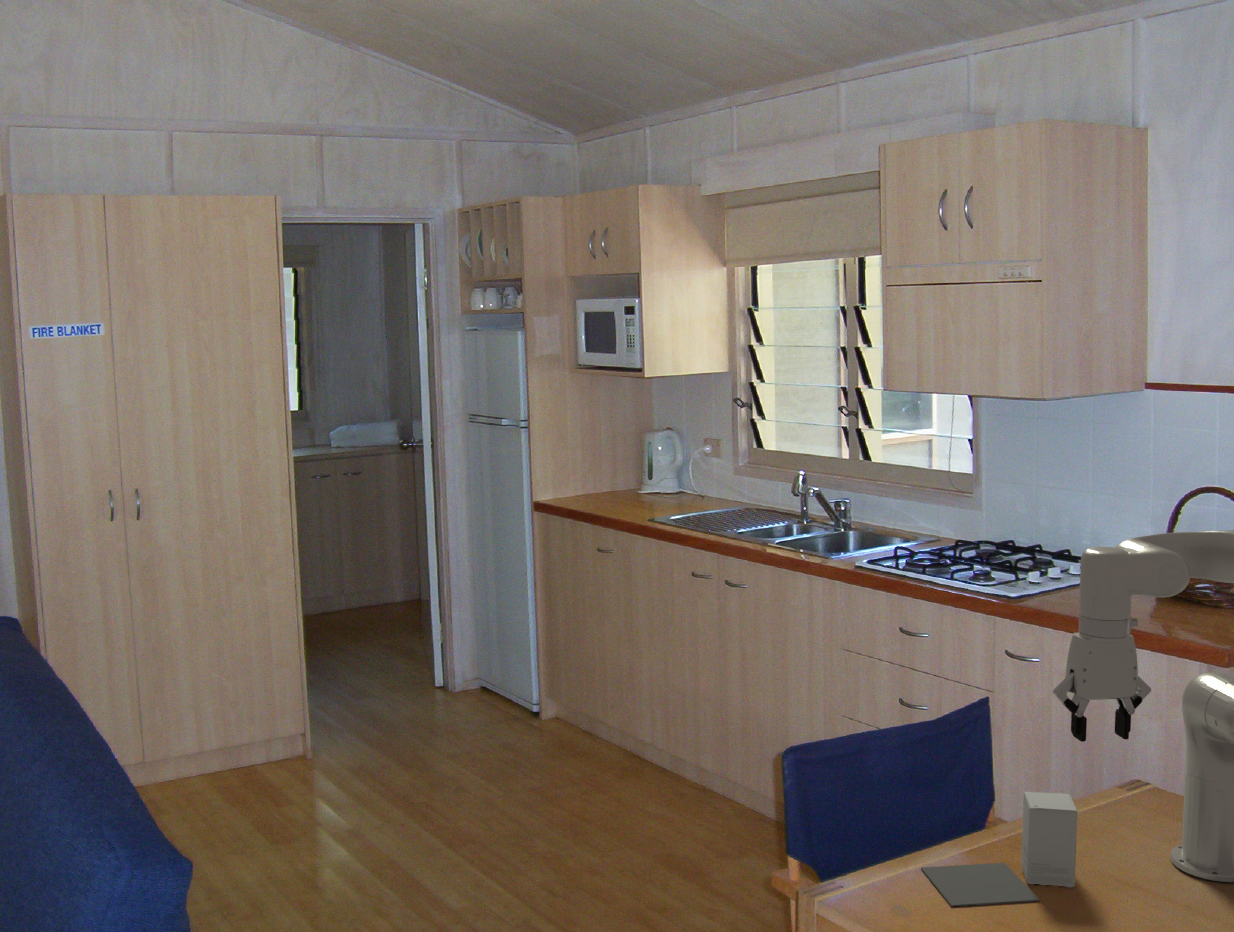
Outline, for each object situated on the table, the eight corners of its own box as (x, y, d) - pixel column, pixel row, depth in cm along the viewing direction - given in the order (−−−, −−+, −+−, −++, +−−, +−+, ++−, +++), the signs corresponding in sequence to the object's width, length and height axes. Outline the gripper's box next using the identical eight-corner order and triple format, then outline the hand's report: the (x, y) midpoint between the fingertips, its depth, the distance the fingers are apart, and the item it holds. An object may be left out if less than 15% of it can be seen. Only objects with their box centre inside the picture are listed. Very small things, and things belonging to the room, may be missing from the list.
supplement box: (1075, 889, 192) (1078, 811, 190) (1026, 885, 193) (1028, 807, 192) (1068, 868, 199) (1071, 793, 198) (1020, 864, 201) (1022, 790, 199)
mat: (1004, 864, 201) (1004, 862, 201) (1039, 901, 188) (1040, 899, 188) (921, 869, 199) (921, 867, 199) (951, 907, 186) (951, 905, 186)
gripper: (1144, 618, 197) (1139, 727, 199) (1040, 623, 195) (1037, 732, 197) (1169, 630, 190) (1165, 743, 192) (1062, 635, 188) (1058, 748, 190)
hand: (1100, 736), depth 194 cm, fingers open, 6 cm apart
